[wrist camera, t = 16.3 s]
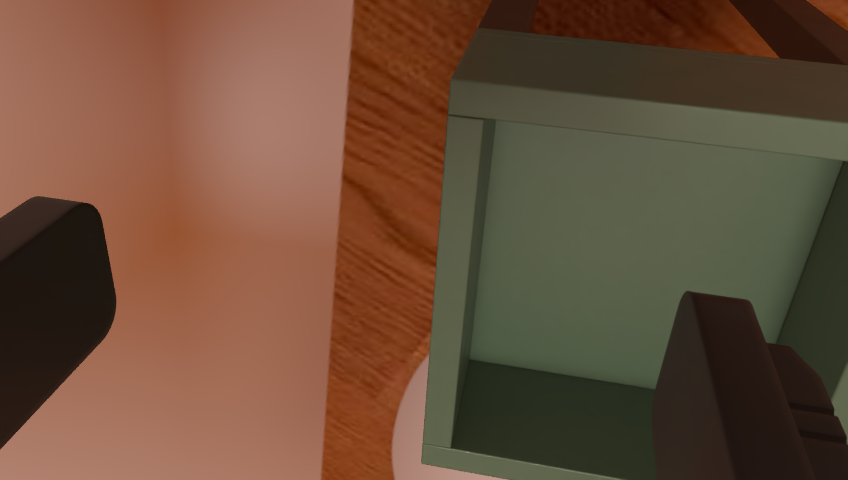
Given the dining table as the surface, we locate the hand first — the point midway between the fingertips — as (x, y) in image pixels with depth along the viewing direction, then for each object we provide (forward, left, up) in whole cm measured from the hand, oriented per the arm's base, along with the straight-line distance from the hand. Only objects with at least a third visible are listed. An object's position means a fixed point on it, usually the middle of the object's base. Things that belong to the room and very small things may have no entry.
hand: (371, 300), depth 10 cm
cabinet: (+7, +6, -38) cm, 39 cm away
